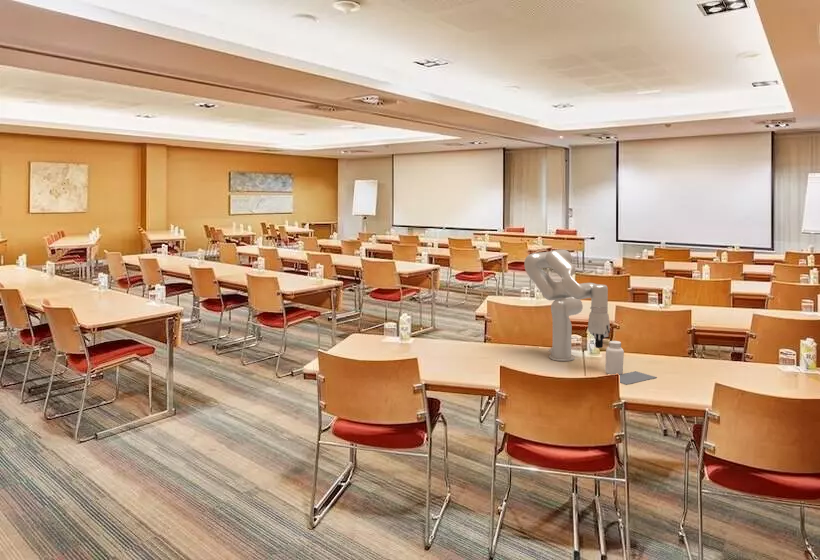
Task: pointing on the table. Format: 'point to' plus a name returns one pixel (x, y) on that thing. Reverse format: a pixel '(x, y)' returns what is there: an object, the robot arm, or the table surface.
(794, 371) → the table surface
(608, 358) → the pill bottle
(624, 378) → the mat
